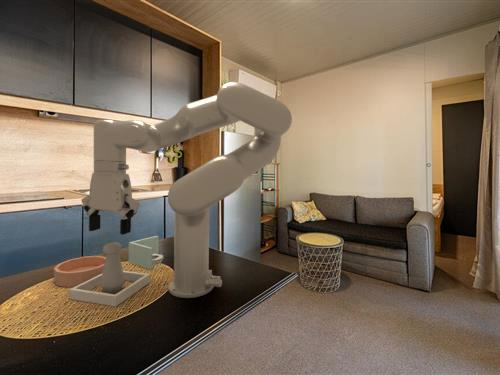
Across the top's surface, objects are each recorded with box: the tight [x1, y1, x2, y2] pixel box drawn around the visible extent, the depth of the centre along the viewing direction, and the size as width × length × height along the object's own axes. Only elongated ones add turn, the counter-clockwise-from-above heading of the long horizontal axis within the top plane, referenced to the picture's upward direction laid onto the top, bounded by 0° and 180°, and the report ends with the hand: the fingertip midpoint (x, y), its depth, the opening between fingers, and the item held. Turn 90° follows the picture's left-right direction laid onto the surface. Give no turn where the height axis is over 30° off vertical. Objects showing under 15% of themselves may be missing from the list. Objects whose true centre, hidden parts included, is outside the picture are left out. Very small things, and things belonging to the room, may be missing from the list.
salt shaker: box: [100, 242, 126, 294], centre depth 68 cm, size 6×6×13 cm
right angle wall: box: [128, 235, 164, 271], centre depth 91 cm, size 12×12×8 cm
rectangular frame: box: [69, 270, 151, 307], centre depth 68 cm, size 14×14×2 cm
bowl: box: [53, 255, 106, 288], centre depth 76 cm, size 14×14×4 cm
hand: (109, 231), depth 67 cm, fingers open, 9 cm apart
